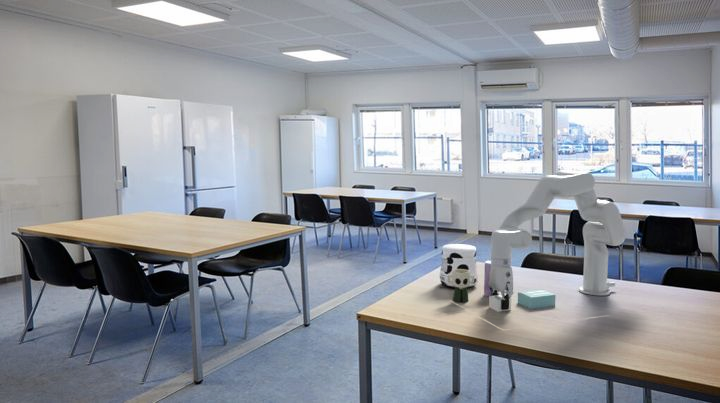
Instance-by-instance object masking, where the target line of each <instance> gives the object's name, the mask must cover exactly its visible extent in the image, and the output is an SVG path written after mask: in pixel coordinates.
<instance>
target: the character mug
mask: <svg viewBox="0 0 720 403" xmlns="http://www.w3.org/2000/svg"><path fill="white" fill-rule="evenodd" d="M450 277H452V280H450ZM470 277H472V281H470ZM448 283H452V284H453V286H455V288H453V289H454V290H453V294H452V295H453V296H452V300H453V302H456V303H461V302H462V303H467V302H468V301H469V294H468V293H469V292H468V288H466V287H468V286H469V284H470V283H474V275H470V271H469V270H465V269H454V270H453V271H452V275H448Z"/></svg>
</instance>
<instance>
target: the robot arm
mask: <svg viewBox="0 0 720 403" xmlns="http://www.w3.org/2000/svg"><path fill="white" fill-rule="evenodd" d="M595 184H596V180H595V177H594V175H593V174H592V173H590V172H588V171H578V170H568V169H561V170H559V171H556V173H554V175H553V174H551V175H548V174H547V175H544V176H542V177H541V178H539V181H538V182H537V184H536V185H535V187H534V189H533V190H532V192H531V193H530V195H529V197H528V198H527V199H526V201H525V202H524V203H523V204H522V205H520V206H519V207H517V208H515V209H514V210H513V211H511V212H510V213H509V214H507V216H506V217H505V219H504V220H503V221H502V223H501V224H500V226H499V228H498V229H495V230H493V231H492V233H491V239H490V240H491V243H490V244H491V248H490V253H491V254H490V255H491V256H490V261H491V268H490V277H489V282H488V285H489V287H490V290H491V296H496V295H502V299H503V300H501V310H507V309H509V300H510V298H512V296H513V295H514V276H513V274H514V273H513V268H512V249H526V248H528V247H529V246H530V245H531V243H532V241H533V237H532V235H531V233H530V232H529V231H528V230H526V229H522V228H519V227H520V226H521V225H522V224H524V223H525V222H527V221H530V220H535V219H538V218H540V217H542V216H544V215H545V214H546V212H547V210H548V209H549V208H550V205H551V204H552V202H553V201H554V199H555V198H561V199H564V198H565V199H566V198H567V199H568V198H573V199H574V201H575V203H576V206H577V209H578V212H579V215H580V217H581V219H582V220H583V221H587V222H586V223H585V224H583V227H582V236H583V237H582V238H583V244H584V255H583V256H584V257H583V276H582V277H583V278H582V279H583V280H582V283H583V284H582V286H579V287H578V291H579V292H580V293H582V294H586V295H589V296H597V297H598V296H600V297H602V296H603V297H604V296H608V295H611V290H610V289H609V288H613V287H615V286H616V283H615V282H614V281H612V282H609V281H608V269H609V268H608V266H609V249H608V248H607V245H608V246H613V247H614V246H621V245H622V244H623V243H624V242H625V240H626V236H627V235H626V233H627V232H626V228H625V224H624V221H623V219H622V215H621V213H620V210H619V207H618V206H617V205H616V204H615V203H614V202H612V201H610V200H609V201H608V200H602V199H599V198H598V196H597V194H596V191H595V188H594V186H595ZM498 292H500V294H499V293H498ZM507 311H508V310H507Z"/></svg>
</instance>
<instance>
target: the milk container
mask: <svg viewBox="0 0 720 403" xmlns="http://www.w3.org/2000/svg"><path fill="white" fill-rule="evenodd" d="M454 269H465V270H469V271H470V275H474V283H470V284H469V286H468V287H466V288H467V289H469V288H472V287H475V286H476V285H477V283H478V280H479V274H478V270H477V247H476V246H475V245H470V244H462V243H460V244H459V243H453V244H450V243H449V244H445V245H443V246H442V248H441V267H440V271H439V280H440V283H441V285H443V286H445V287H447V288H453V289H455V286H453V284H452V283H448V275H452V271H453V270H454ZM450 280H452V277H450ZM470 281H472V277H470Z"/></svg>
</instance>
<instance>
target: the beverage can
mask: <svg viewBox="0 0 720 403" xmlns="http://www.w3.org/2000/svg"><path fill="white" fill-rule="evenodd" d="M490 268H491V260H486V261H484V276H483V278H484V280H483V281H484V284H483V295H484V297H487V298H489V296H491V290H490V287H489V285H488V282H489V277H490ZM498 294H499V292H498Z"/></svg>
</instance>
